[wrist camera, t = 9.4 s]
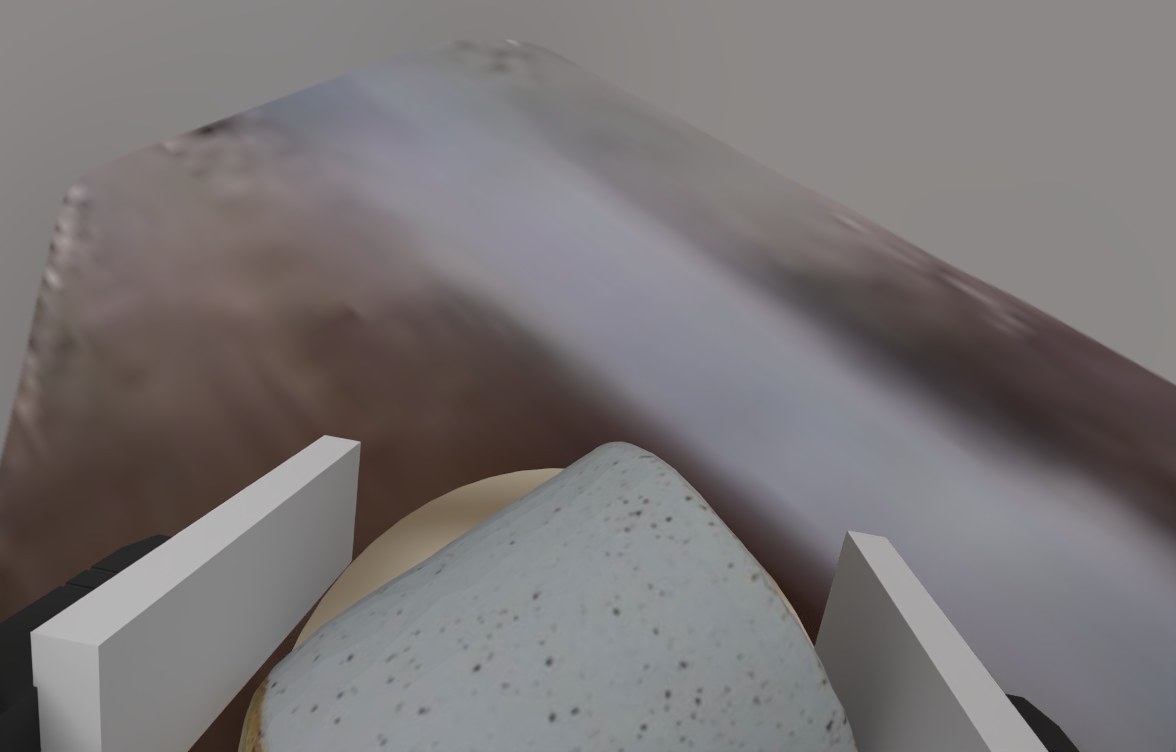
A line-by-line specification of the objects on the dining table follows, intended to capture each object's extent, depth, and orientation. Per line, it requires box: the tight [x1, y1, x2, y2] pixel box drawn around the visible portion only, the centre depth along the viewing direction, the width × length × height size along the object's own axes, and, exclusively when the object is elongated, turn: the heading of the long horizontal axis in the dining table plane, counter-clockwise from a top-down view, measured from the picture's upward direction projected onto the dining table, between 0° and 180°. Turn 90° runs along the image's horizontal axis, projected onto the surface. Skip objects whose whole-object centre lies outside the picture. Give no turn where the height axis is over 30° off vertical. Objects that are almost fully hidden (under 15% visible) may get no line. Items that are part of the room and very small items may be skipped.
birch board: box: [292, 468, 814, 651], centre depth 23 cm, size 20×20×2 cm
